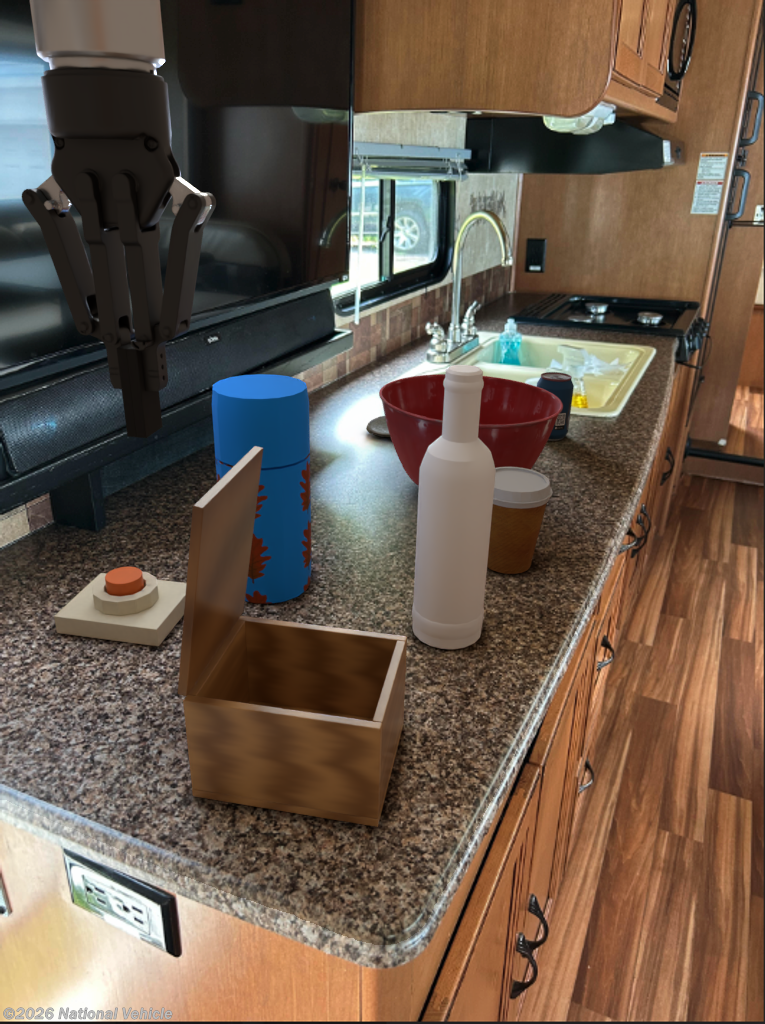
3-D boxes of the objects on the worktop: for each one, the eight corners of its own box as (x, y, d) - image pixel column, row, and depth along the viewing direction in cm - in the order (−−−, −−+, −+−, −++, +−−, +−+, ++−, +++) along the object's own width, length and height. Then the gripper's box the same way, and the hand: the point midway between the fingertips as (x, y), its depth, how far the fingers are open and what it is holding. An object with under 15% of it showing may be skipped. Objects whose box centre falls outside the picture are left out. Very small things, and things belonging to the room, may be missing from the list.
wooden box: (403, 724, 72) (407, 636, 68) (377, 827, 61) (380, 729, 57) (245, 701, 75) (239, 615, 71) (192, 796, 63) (182, 700, 59)
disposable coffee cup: (529, 587, 96) (539, 499, 91) (459, 568, 100) (465, 483, 95) (552, 557, 104) (563, 474, 99) (486, 540, 108) (493, 460, 103)
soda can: (525, 431, 152) (531, 372, 147) (556, 429, 154) (563, 370, 149) (541, 443, 146) (548, 381, 141) (574, 440, 148) (582, 379, 143)
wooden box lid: (263, 447, 63) (254, 445, 63) (203, 508, 52) (192, 505, 52) (243, 612, 70) (235, 609, 71) (186, 697, 59) (176, 694, 59)
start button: (100, 595, 85) (97, 581, 84) (117, 577, 89) (116, 564, 88) (133, 599, 85) (131, 585, 84) (150, 581, 88) (148, 568, 87)
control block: (56, 633, 85) (50, 601, 83) (103, 588, 94) (98, 559, 92) (158, 646, 83) (154, 615, 81) (196, 599, 92) (193, 570, 90)
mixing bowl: (508, 451, 142) (516, 369, 135) (584, 515, 117) (598, 417, 110) (359, 462, 135) (360, 375, 128) (405, 532, 110) (409, 428, 103)
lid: (427, 439, 151) (430, 414, 150) (402, 440, 143) (406, 413, 142) (381, 431, 156) (384, 407, 155) (355, 432, 148) (358, 406, 147)
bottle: (397, 630, 87) (406, 367, 74) (440, 604, 92) (456, 355, 80) (453, 660, 82) (473, 383, 69) (495, 630, 87) (522, 369, 75)
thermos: (297, 609, 90) (292, 402, 80) (211, 599, 92) (195, 395, 81) (320, 566, 100) (319, 377, 90) (242, 557, 102) (231, 371, 91)
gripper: (225, 76, 50) (245, 423, 60) (43, 76, 52) (91, 411, 62) (176, 62, 43) (208, 455, 53) (-30, 62, 46) (36, 440, 55)
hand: (145, 431), depth 58 cm, fingers closed
